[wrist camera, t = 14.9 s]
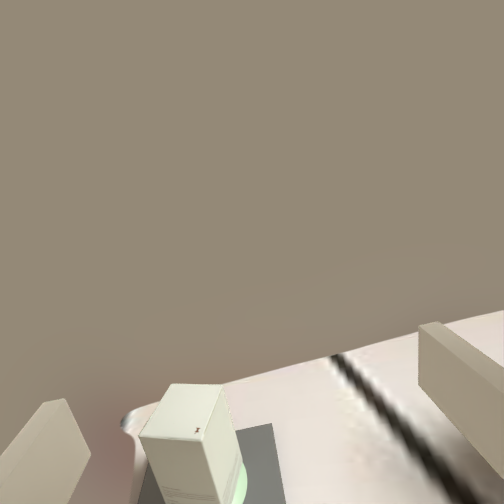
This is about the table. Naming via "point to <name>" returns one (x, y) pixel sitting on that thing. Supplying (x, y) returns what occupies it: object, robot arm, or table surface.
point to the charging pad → (241, 471)
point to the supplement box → (193, 445)
